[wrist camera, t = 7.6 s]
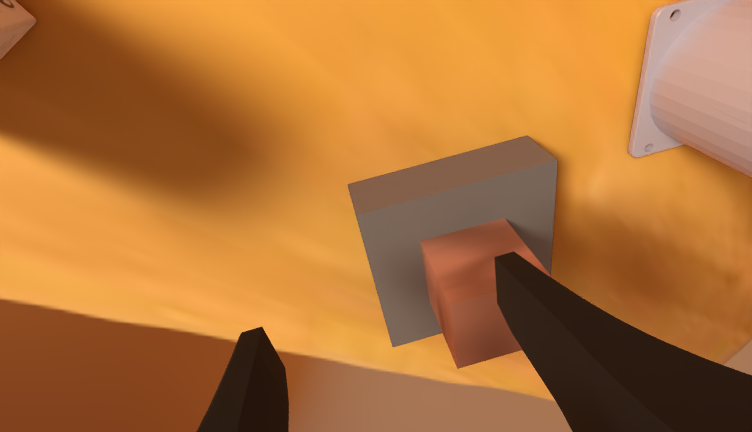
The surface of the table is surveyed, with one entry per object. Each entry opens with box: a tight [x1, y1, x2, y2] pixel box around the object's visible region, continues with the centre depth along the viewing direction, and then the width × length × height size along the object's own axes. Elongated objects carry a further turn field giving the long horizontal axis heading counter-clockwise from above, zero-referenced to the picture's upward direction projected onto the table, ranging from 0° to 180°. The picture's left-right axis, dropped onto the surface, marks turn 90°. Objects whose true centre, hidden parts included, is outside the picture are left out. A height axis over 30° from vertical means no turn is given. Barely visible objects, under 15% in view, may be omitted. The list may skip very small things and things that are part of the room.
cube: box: [420, 218, 551, 369], centre depth 21 cm, size 4×4×4 cm
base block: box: [348, 136, 558, 347], centre depth 24 cm, size 10×10×3 cm
